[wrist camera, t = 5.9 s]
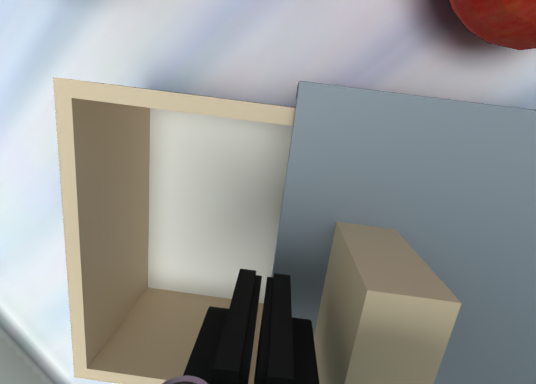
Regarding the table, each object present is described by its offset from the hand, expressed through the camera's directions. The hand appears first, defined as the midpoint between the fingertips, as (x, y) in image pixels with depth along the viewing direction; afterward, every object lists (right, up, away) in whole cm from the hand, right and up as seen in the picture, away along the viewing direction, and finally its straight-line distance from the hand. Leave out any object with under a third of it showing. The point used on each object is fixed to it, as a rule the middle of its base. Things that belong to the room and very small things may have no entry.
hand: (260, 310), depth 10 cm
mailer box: (+1, +2, +9) cm, 9 cm away
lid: (+10, -1, +2) cm, 10 cm away
